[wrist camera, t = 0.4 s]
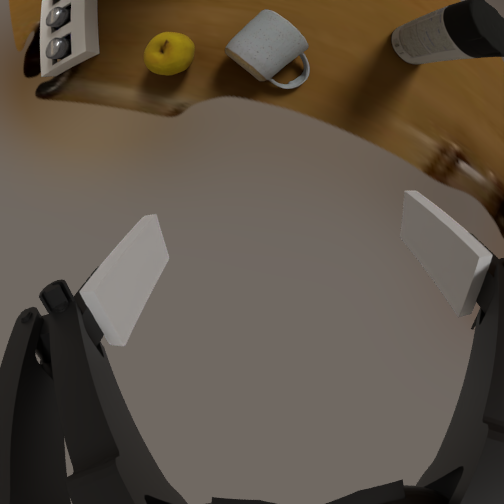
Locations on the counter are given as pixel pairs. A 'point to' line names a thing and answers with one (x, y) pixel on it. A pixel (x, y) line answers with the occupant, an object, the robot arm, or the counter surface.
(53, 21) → the knob mid
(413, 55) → the spray can
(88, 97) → the counter surface
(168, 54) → the apple
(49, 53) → the knob
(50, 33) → the console
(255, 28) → the ceramic mug
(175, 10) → the counter surface
